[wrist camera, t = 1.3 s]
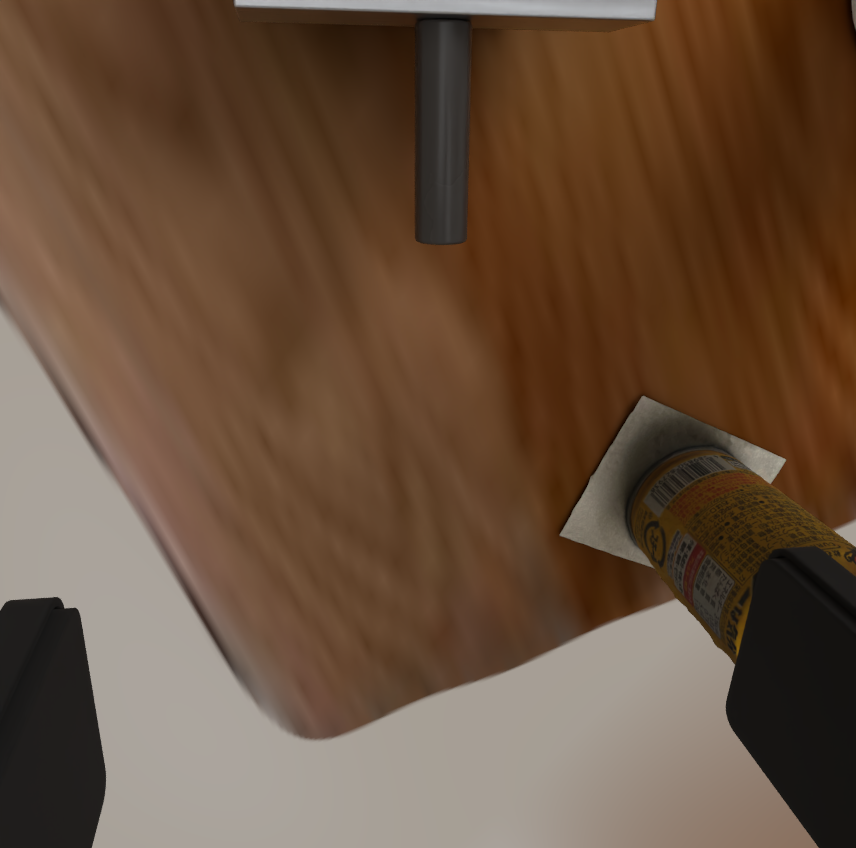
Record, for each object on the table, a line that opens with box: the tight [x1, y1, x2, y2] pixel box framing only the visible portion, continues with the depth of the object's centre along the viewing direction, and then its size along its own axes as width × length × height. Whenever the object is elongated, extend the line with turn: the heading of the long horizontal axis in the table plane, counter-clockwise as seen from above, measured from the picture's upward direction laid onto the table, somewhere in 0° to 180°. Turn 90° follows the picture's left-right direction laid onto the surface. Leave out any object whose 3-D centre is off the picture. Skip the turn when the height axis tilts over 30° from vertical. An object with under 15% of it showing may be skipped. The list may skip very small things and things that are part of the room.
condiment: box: [560, 396, 856, 664], centre depth 29 cm, size 7×8×12 cm
